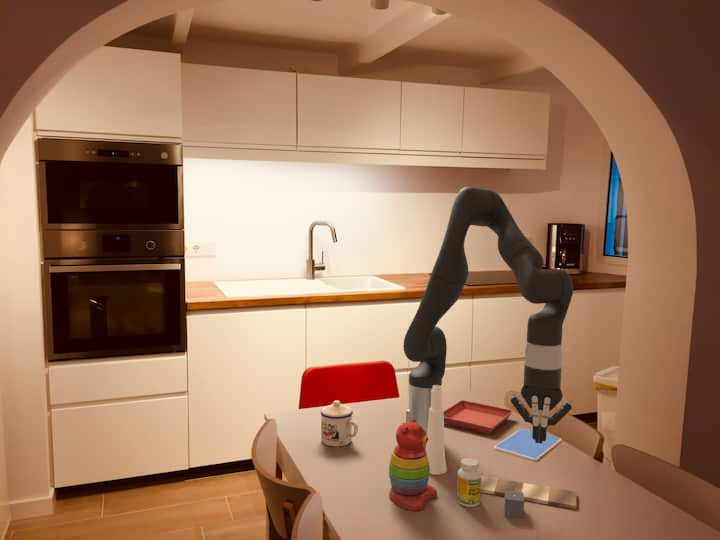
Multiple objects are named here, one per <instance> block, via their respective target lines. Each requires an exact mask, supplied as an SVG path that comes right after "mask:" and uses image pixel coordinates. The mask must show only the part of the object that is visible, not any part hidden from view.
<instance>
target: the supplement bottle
mask: <svg viewBox="0 0 720 540" xmlns="http://www.w3.org/2000/svg"><path fill="white" fill-rule="evenodd" d="M479 463H480V462H479V460H477V459H475V458H471V457H466V458H462V459H461V461H460V468H459V469H458V470H457V483H456V484H457V487H456V490H457V491H456V492H457V493H456V496H457V497H456V500H457V503H458V504H459V505H461V506H463V507H466V508H468V507H469V508H474V507H477V506H479V505H480V503H481V501H482V500H481V498H482V497H481V496H482V492H481V476H482V472H481V470H480V469H479V468H480V467H479V466H480V464H479Z"/></svg>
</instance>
